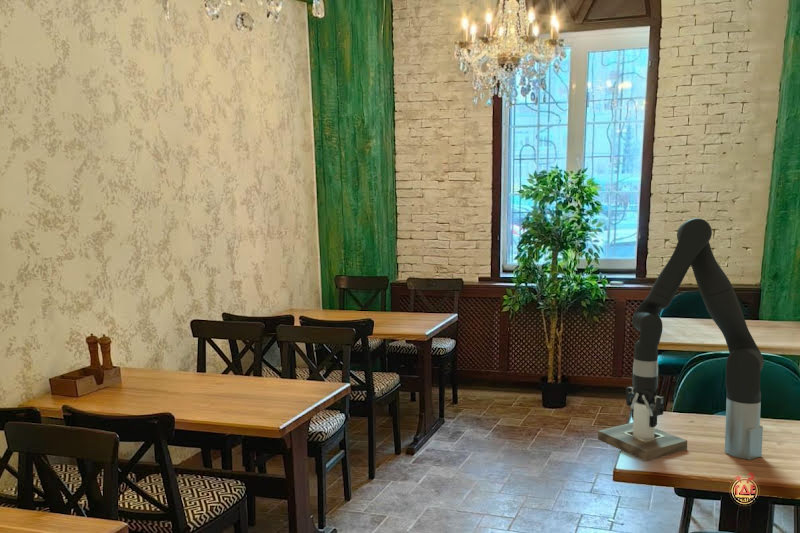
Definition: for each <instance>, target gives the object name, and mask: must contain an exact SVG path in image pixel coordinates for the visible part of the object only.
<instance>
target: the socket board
mask: <svg viewBox="0 0 800 533" xmlns="http://www.w3.org/2000/svg"><path fill="white" fill-rule="evenodd" d="M597 440H598V441H601V442H602V443H605V444H607V445H609V446H611V447H614V448H616V449H618V450H621V451H623V452H625V453H627V454H628V455H629V454H630V455H632V456H634V457H637V458H638V459H641V460H643V461H645V462H649V461H651V460H655V459H659V458H663V457H666V456H670V455H674V454H677V453H680V452H684V451H688V440H687V439H684V438H682V437H679V436H677V435H673V434H671V433H668V432H666V431H662V430H660V429H658V428H655V432H654V438H652V439H648V440H643V439H640V438H638V437H635V436H633V422H629V423H626V424H621V425H615V426H611V427H608V428H604V429H599V430H597Z"/></svg>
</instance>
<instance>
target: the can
mask: <svg viewBox="0 0 800 533" xmlns="http://www.w3.org/2000/svg"><path fill="white" fill-rule="evenodd" d="M653 404H654V403H653ZM653 404H650V406H653ZM652 410H653V412H654V408H652ZM649 422H650V413H649V409H647V408H646V405H645V404H643V403H640V402H638V401H637V402H636V401H635V404H634V413H633V420H632V423H633V436H635V437H638V438H640V439H643V440H648V439H652V438H654V432H655V427H656V426H655V427H650V426H649Z"/></svg>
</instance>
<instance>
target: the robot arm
mask: <svg viewBox="0 0 800 533" xmlns="http://www.w3.org/2000/svg"><path fill="white" fill-rule="evenodd" d="M712 234H713V229H712V227H711V225H710V223H709V222H708V221H707V220H705V219H703V218H691V219H688V220H686V221H685V222H683V223H682V224H681V225H680V226H679V227H678V229H677V232H676V238H677V244H676V246H675V248H674V251H673V253H672V255H671V256H670V258H669V259H668V261H667V263H666V265H665V266H664V268H663V269H662V270H661V272H660V273H659V275H658V276H657V278H656V280H655V282H654V283H653V285H652V287H651V289H650V291H649V292H648V295H647V297H645V299H643V301H642V302H641V303H640V305H638V307H637V308H636V309H635V311H634V312H633V315H632V318H631V324H632V327H633V328H634V329H635V330H637V331H638V332H640V334H639V339H638V340H637V341H635V343H634V347H633V348H634V350H633V352H634V353H633V364H632V386H627V387H626V388H625V402H626V406H629V407H630V409H631V418H632V421H633V413H634V404H635V401H636V402H637V401H638V402H640V403H643V404H645V405H646V408H647V409H649V413H650V422H649V426H650V427H657V425H658V416H662V415H664V410H665V401H666V398H665V396H659V395H658V394H657V390H658V386H659V384H658V383H659V362H658V360H659V359H658V358H659V352H658V351H659V345H660V341H661V338H662V334H663V321H662V319H661V317H660V316H659V314H660V313H661V311H662V310H665V309H668V308H669V307H670V305H671V303H672V302H673V300H674V299H675V298H674V297H675V296H676V294H677V292H678V291H679V288H680V287H681V284H682V283H683V281H684V278H685V277H686V274H687V273H688V271H689V269H690V267H691V270H692V272H693V275H694V279H695V282H696V285H697V286H698V287H697V288H698V290H699V294H700V296H701V298H702V299H701V300H702V301H703V303H704V305H705V308H706V311H707V313H708V314H709V316H710V317H711V320H712V321H713V322H714V323H715V324H716V326H717V327H718V329H719V330H720V331H721V333H722V336H723V337H724V339H725V342H726V345H727V349H728V352H729V355H728V357H727V359H726V363H725V390H726V403H725V406H726V407H725V408H726V409H725V411H726V412H725V429H724V432H725V433H724V453H726V454H728V455H729V456H732V457H735V458H738V459H744V460H748V461H750V460H754V459H758V458H760V457H762V456H763V454H762V453H763V431H764V426H762V425H761V423H760V421H761V409H762V408H761V405H762V403H761V402H762V392H761V372H762V369H764V364H765V362H764V361H765V360H764V356H763V354H762V352H761V351H760V348H759V346H758V345H757V344H756V342H755V339H754V338H753V336H752V334H751V332H750V330H749V328H748V326H747V321H746V320H745V316H744V312H743V310H742V307H741V305H740V302H739V299H738V297H737V294H736V292H735V289H734V286H733V285H732V283H731V281H730V279H729V277H728V276H727V274H726V273H725V272H724V270H723V269H722V267H721V266H720V265H719V263H718V262H717V260H716V257H715V256H714V252H713V250H712V248H711V244H710V240H711V239H712ZM653 403H654V404H653ZM650 404H653V406H650ZM652 408H654V412H653V410H652Z"/></svg>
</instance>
